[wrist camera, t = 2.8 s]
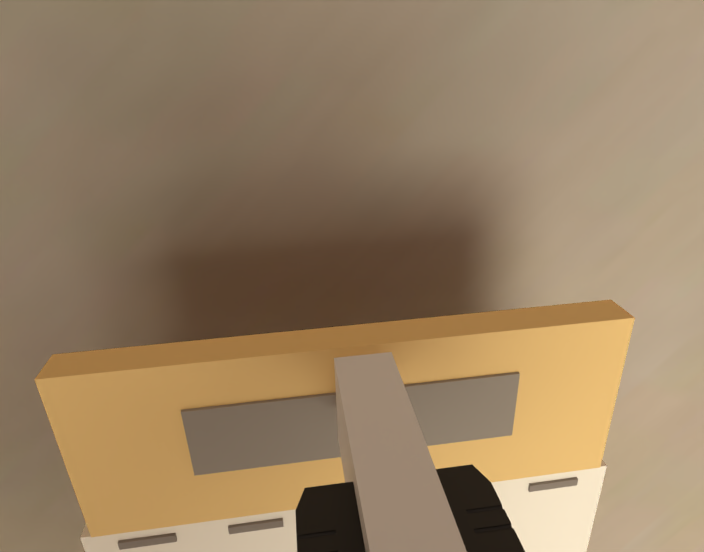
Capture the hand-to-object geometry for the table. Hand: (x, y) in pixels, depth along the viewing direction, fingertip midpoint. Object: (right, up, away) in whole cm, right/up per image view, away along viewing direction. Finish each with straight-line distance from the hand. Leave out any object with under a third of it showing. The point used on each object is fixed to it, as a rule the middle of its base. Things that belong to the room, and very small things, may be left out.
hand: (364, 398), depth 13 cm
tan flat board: (0, -1, +3) cm, 3 cm away
